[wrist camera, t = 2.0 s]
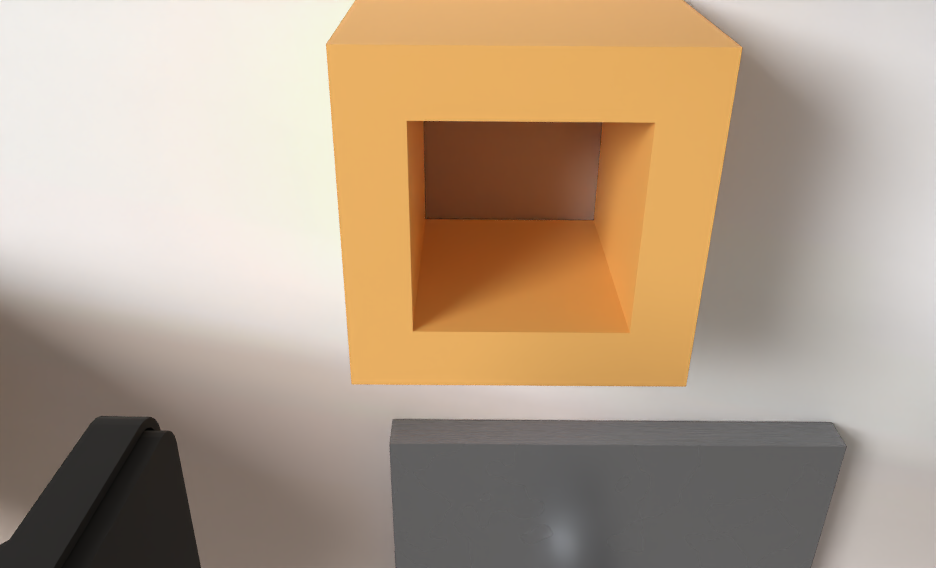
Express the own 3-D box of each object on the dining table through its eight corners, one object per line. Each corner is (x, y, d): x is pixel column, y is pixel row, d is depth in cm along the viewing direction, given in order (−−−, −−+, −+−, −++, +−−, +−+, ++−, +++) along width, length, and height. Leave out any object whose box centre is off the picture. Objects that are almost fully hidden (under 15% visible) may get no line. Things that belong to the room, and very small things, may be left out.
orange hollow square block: (363, -11, 17) (326, 44, 13) (672, -9, 17) (742, 47, 13) (377, 263, 20) (351, 384, 16) (638, 265, 20) (685, 386, 16)
